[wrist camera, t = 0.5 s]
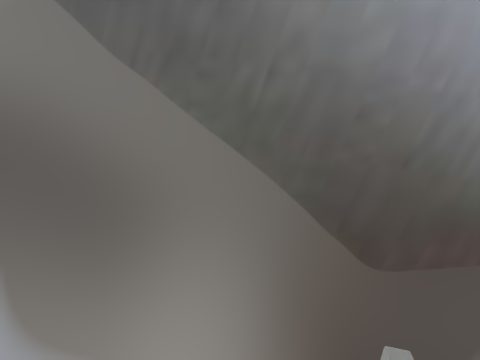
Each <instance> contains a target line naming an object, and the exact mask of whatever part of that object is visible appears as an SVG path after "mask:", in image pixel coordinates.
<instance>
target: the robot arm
mask: <svg viewBox="0 0 480 360" xmlns="http://www.w3.org/2000/svg"><path fill="white" fill-rule="evenodd" d="M381 360H414V359H413V357H412V355H411V353H410V351H406V350H402V349H397V348H392V347H388V346H385V347H384V350H383V354H382V357H381Z"/></svg>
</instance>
